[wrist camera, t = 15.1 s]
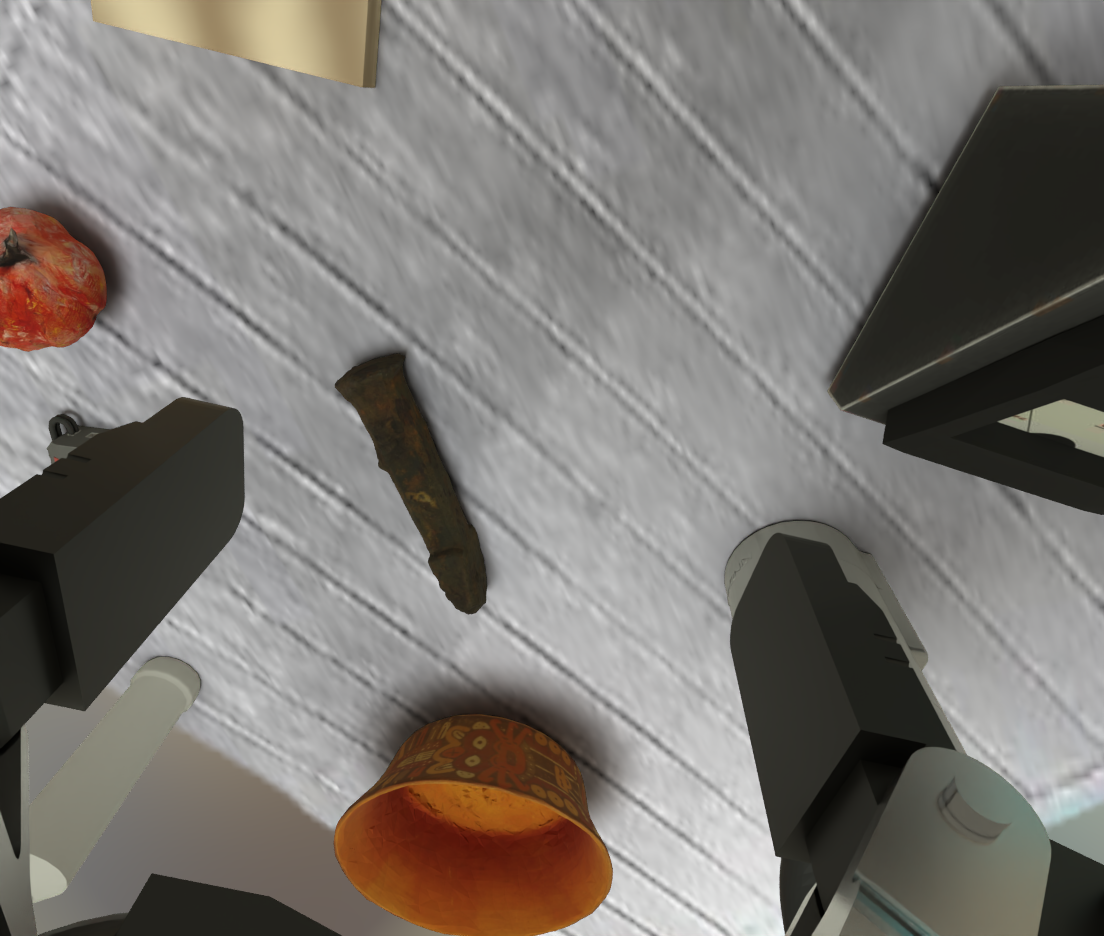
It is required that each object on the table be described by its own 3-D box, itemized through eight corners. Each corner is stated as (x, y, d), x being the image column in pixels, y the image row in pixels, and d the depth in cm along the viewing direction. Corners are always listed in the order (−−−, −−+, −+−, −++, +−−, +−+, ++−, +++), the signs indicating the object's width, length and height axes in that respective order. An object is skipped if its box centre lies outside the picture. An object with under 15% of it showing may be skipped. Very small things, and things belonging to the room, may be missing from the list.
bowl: (586, 847, 64) (582, 965, 56) (368, 808, 64) (329, 920, 55) (637, 699, 54) (643, 814, 46) (378, 651, 54) (333, 758, 45)
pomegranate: (129, 333, 44) (144, 285, 36) (13, 391, 40) (2, 352, 32) (47, 231, 42) (44, 157, 34) (-83, 282, 38) (-121, 211, 30)
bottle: (137, 650, 56) (-166, 1007, 34) (198, 659, 56) (-65, 1022, 34) (148, 694, 58) (-126, 1052, 37) (207, 702, 58) (-33, 1065, 36)
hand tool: (348, 360, 42) (319, 388, 38) (406, 344, 41) (384, 372, 37) (451, 591, 51) (437, 635, 47) (501, 582, 50) (491, 626, 46)
